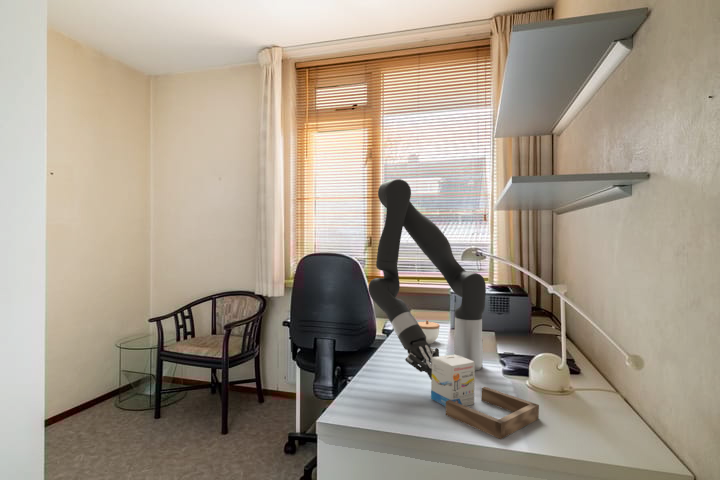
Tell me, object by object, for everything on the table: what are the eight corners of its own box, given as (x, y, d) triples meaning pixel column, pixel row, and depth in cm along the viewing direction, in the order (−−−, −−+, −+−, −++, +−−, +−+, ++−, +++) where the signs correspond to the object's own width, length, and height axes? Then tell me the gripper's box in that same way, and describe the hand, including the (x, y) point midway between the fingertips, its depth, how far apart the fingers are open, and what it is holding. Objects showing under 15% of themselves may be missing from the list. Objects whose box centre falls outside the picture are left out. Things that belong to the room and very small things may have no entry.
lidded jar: (432, 338, 182) (432, 317, 182) (443, 344, 172) (444, 322, 172) (410, 339, 179) (410, 318, 179) (420, 345, 169) (420, 323, 169)
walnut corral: (484, 399, 113) (484, 386, 113) (538, 418, 100) (538, 404, 100) (445, 415, 102) (445, 401, 102) (500, 439, 90) (501, 423, 90)
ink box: (450, 410, 105) (451, 365, 105) (430, 398, 112) (430, 356, 112) (475, 404, 109) (476, 360, 109) (453, 393, 116) (454, 353, 116)
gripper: (399, 326, 118) (430, 380, 108) (429, 321, 126) (460, 370, 116) (386, 340, 122) (415, 393, 112) (416, 334, 130) (445, 383, 120)
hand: (438, 381), depth 114 cm, fingers closed
